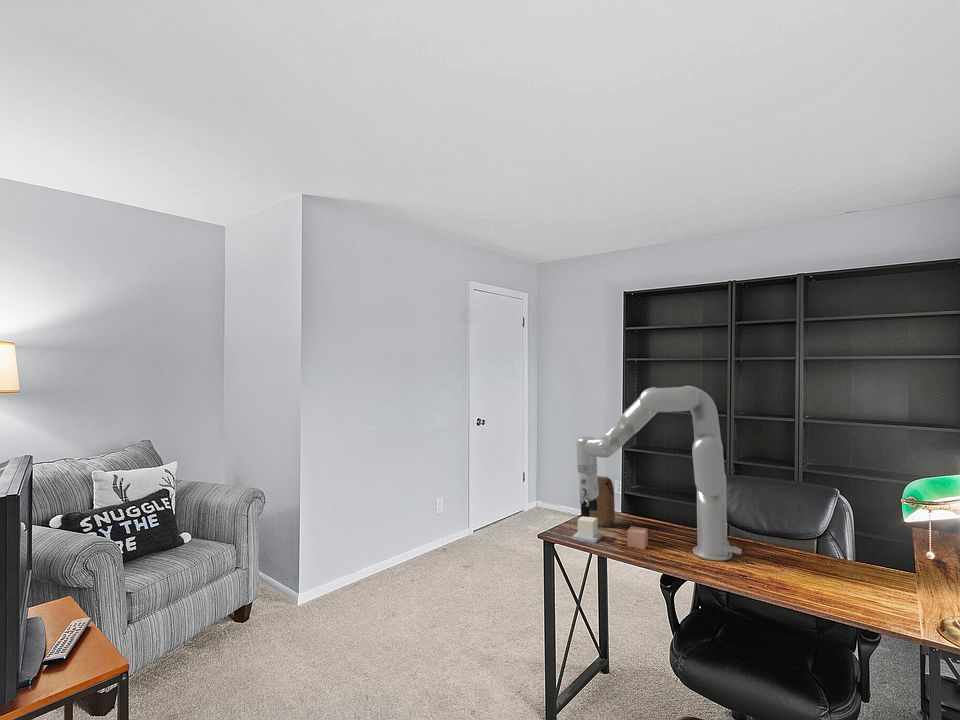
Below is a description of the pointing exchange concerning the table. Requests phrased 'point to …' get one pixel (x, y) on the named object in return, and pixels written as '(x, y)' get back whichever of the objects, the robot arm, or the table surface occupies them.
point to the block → (604, 503)
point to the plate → (587, 538)
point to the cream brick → (587, 526)
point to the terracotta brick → (637, 537)
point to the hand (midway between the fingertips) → (589, 513)
